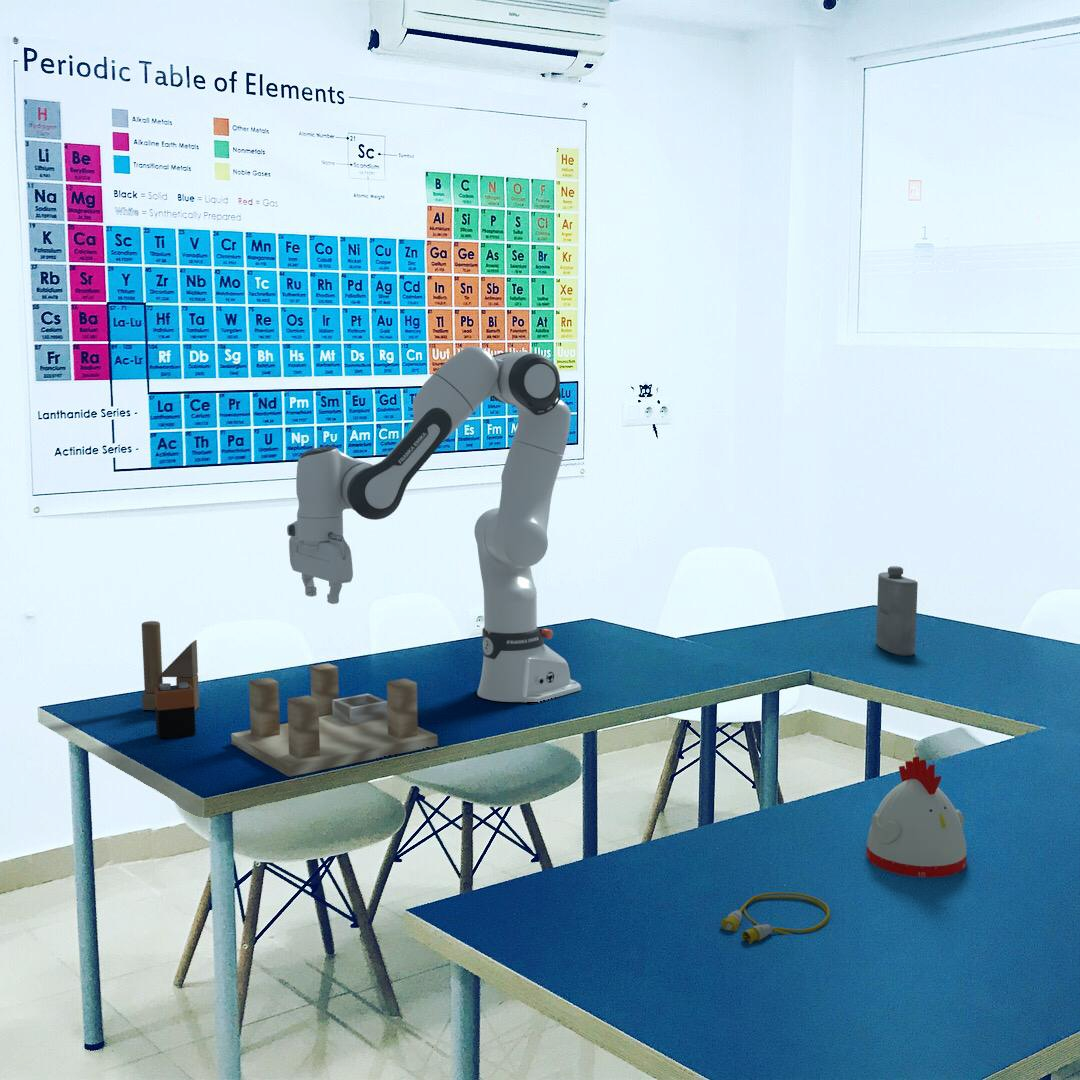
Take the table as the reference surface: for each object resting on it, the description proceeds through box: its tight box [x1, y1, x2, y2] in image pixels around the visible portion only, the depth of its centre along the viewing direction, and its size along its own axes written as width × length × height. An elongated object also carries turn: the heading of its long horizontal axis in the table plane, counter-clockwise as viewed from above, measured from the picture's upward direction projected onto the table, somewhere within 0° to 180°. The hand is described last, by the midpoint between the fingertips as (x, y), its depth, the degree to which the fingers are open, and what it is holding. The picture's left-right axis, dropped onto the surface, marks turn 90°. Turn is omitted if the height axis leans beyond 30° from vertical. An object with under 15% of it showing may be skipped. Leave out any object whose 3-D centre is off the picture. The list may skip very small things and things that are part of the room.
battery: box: [155, 682, 197, 740], centre depth 257 cm, size 4×7×10 cm, turn 114°
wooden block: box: [141, 620, 200, 711], centre depth 274 cm, size 4×11×18 cm, turn 87°
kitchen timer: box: [865, 756, 967, 878], centre depth 194 cm, size 14×14×15 cm
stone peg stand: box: [231, 677, 439, 778], centre depth 250 cm, size 30×24×12 cm
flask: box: [875, 565, 918, 657], centre depth 325 cm, size 15×6×20 cm, turn 9°
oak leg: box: [310, 663, 340, 717], centre depth 270 cm, size 4×4×10 cm
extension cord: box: [720, 891, 831, 944], centre depth 175 cm, size 12×16×2 cm
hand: (321, 599), depth 267 cm, fingers open, 8 cm apart
